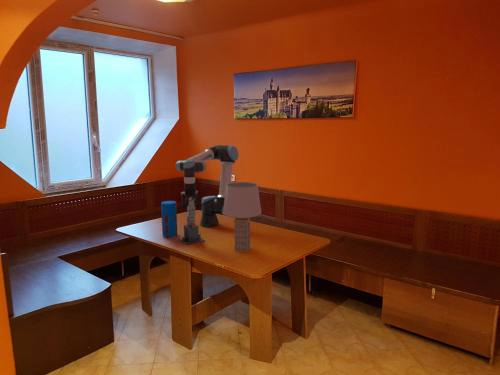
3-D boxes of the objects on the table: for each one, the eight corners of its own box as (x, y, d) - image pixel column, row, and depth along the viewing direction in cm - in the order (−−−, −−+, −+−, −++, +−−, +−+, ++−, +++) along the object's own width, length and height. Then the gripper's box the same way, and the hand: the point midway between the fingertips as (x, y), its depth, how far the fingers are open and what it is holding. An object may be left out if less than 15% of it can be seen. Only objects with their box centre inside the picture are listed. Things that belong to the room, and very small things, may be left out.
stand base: (196, 236, 286) (195, 219, 284) (204, 241, 275) (204, 223, 272) (178, 239, 278) (177, 222, 276) (186, 245, 267) (185, 226, 265)
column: (193, 229, 279) (192, 197, 275) (196, 230, 274) (195, 198, 270) (186, 230, 276) (185, 198, 272) (189, 231, 272) (188, 199, 267)
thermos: (174, 238, 282) (172, 204, 278) (160, 237, 284) (158, 203, 280) (179, 233, 293) (178, 201, 288) (166, 232, 295) (164, 200, 290)
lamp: (264, 244, 267) (265, 182, 259) (257, 257, 243) (257, 188, 235) (229, 242, 272) (228, 180, 264) (218, 254, 248) (217, 187, 240)
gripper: (198, 180, 277) (199, 212, 281) (175, 183, 267) (177, 216, 272) (203, 182, 271) (204, 215, 275) (180, 184, 261) (181, 218, 265)
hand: (190, 215), depth 273 cm, fingers closed on column, 4 cm apart
